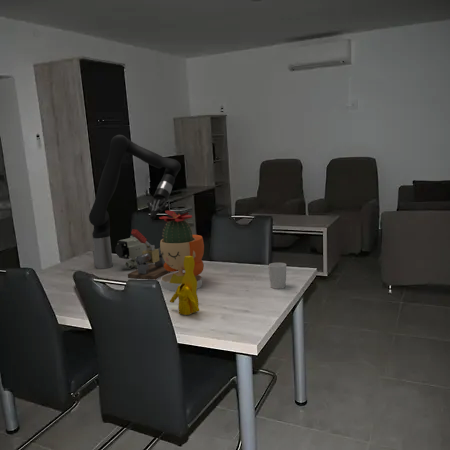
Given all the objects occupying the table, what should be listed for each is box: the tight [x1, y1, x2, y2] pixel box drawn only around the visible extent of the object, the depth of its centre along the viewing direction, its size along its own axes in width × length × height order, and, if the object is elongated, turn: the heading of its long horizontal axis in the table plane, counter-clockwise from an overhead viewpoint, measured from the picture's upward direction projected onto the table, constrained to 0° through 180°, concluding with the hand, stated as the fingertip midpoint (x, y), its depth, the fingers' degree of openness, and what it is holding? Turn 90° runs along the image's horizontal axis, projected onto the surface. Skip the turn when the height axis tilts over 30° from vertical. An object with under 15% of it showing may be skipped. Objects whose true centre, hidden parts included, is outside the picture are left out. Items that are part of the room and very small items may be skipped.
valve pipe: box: [135, 244, 165, 275], centre depth 231 cm, size 6×20×13 cm, turn 155°
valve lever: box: [130, 228, 153, 249], centre depth 224 cm, size 2×2×17 cm
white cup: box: [268, 262, 287, 290], centre depth 198 cm, size 8×8×10 cm
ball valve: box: [114, 235, 149, 270], centre depth 245 cm, size 18×8×18 cm, turn 139°
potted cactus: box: [158, 210, 205, 292], centre depth 209 cm, size 22×22×35 cm
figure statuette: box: [169, 256, 200, 316], centre depth 171 cm, size 18×8×22 cm, turn 44°
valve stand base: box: [127, 263, 172, 280], centre depth 232 cm, size 16×20×2 cm
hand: (152, 218), depth 231 cm, fingers closed
